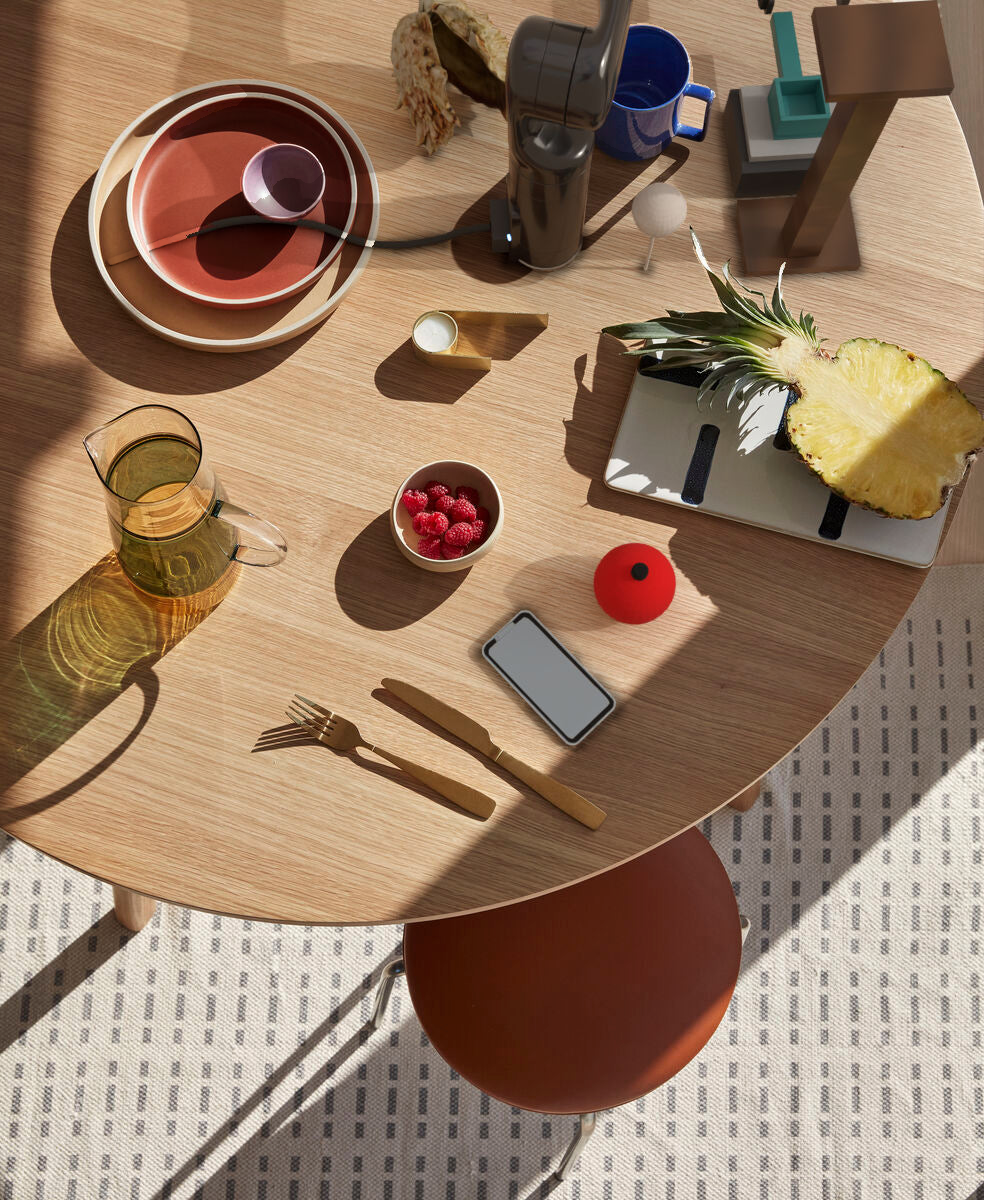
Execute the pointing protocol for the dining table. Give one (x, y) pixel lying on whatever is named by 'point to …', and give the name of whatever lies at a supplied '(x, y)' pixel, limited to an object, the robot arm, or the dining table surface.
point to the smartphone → (548, 677)
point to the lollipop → (658, 212)
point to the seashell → (446, 65)
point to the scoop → (794, 88)
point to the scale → (762, 147)
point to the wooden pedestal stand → (846, 131)
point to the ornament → (634, 583)
